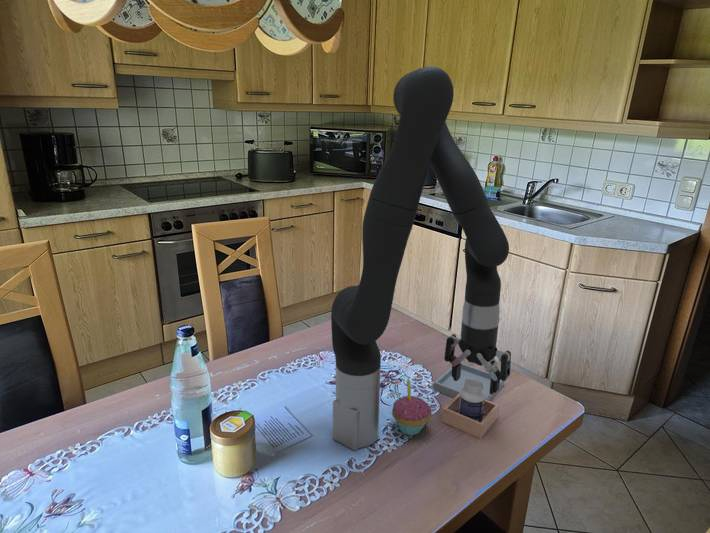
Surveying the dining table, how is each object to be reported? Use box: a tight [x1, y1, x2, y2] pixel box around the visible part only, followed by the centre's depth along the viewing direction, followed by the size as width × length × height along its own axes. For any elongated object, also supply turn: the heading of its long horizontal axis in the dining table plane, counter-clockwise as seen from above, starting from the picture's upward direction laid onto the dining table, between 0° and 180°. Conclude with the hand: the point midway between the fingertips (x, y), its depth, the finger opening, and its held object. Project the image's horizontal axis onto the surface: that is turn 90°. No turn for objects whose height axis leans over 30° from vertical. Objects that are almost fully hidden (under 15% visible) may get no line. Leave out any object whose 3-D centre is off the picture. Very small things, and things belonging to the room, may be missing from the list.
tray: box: [433, 361, 505, 402], centre depth 122 cm, size 13×13×2 cm
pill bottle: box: [458, 378, 485, 423], centre depth 108 cm, size 5×5×10 cm
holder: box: [442, 392, 500, 440], centre depth 109 cm, size 9×9×4 cm
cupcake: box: [391, 376, 432, 436], centre depth 105 cm, size 9×8×12 cm
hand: (474, 385), depth 107 cm, fingers open, 8 cm apart
